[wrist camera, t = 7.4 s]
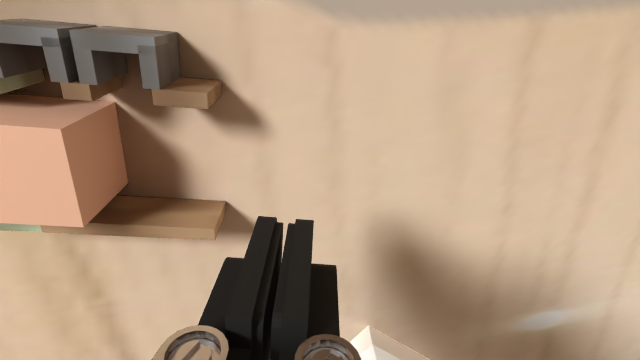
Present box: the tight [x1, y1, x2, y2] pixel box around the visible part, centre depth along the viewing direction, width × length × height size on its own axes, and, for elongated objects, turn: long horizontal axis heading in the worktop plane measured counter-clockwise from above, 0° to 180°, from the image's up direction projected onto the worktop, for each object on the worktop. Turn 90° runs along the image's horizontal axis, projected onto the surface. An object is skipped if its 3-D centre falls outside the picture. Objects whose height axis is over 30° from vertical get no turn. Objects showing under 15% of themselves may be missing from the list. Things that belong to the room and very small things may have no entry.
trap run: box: [0, 19, 226, 240], centre depth 15 cm, size 10×8×2 cm
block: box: [0, 94, 128, 227], centre depth 15 cm, size 5×4×4 cm
